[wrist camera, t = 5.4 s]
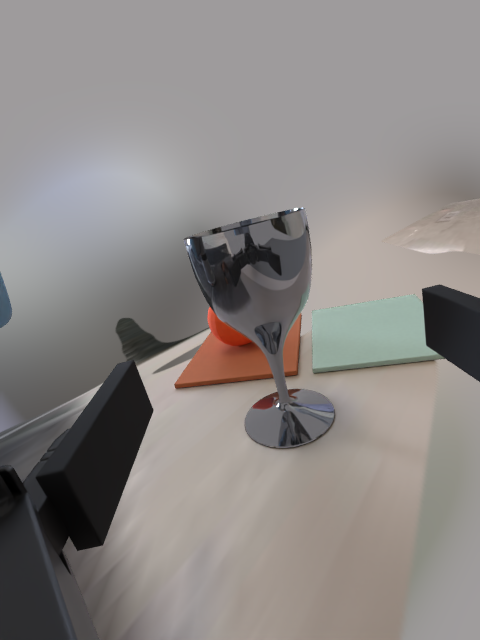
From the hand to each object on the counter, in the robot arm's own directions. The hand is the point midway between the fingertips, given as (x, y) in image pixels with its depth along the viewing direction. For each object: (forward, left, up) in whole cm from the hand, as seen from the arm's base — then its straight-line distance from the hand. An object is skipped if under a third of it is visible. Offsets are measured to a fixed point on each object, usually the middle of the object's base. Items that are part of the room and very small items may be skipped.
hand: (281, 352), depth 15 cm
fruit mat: (-8, +22, -10) cm, 26 cm away
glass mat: (+6, +22, -10) cm, 25 cm away
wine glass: (-2, +8, -10) cm, 13 cm away
